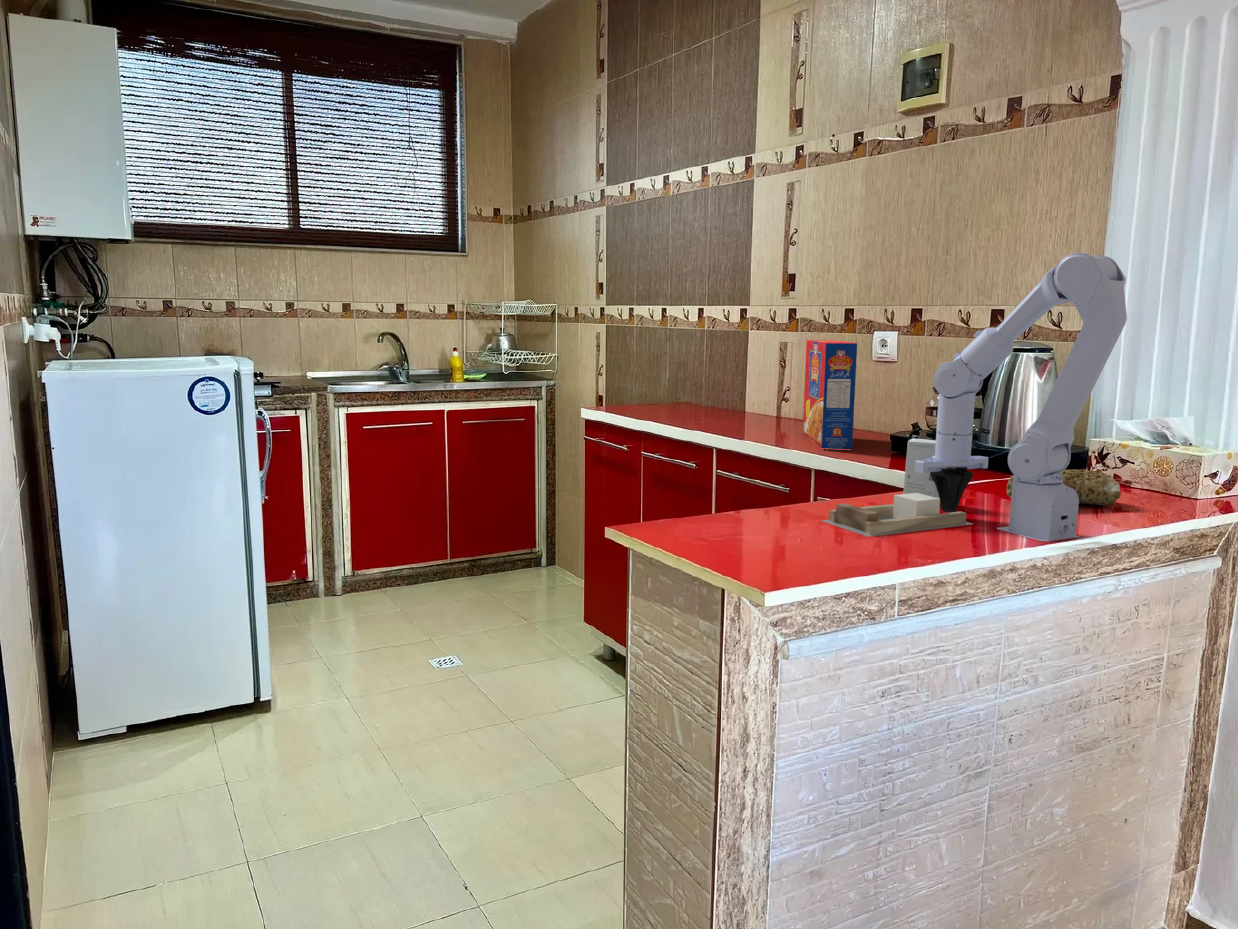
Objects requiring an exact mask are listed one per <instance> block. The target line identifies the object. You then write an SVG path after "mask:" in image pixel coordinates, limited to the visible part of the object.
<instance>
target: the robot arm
mask: <svg viewBox="0 0 1238 929" xmlns="http://www.w3.org/2000/svg"><path fill="white" fill-rule="evenodd" d="M1126 280H1127V278H1126V276H1125V274H1124V273H1123V271H1122V269H1121V268H1120V266H1119V265H1118V263H1117V262H1116V260H1114V259H1113V258H1112V257H1109V256H1106V255H1094V254H1089V253H1086V252H1074V253H1071V254H1068V255H1066V256H1065V257H1064V258H1062V259H1061V260H1060V261H1059V262H1058V264H1057V266H1056V267H1053V268H1051V269H1050V270H1048V271H1047V272H1046V273H1045V275H1044V276H1043V277H1042V278H1041V280H1040V281H1039V282H1038V284H1036V286H1034V288H1033V289H1031V291H1030V292H1029V293H1028V294H1027V295H1026V296H1025V297H1024V299H1023V300H1021V302H1020V303H1019V304H1018V305H1017V306H1016V307H1015V308H1014V309H1013V310H1012V311H1011V312H1010V314H1008V316H1007V317H1006V318H1005V319H1004V320H1002V322H1001V323H1000V324H999V325H998V326H997V327H986V328H984V329H983V330H977V331H976V332H975V333H974V334H973V338H974V339H973V340H972V341H971V342H970V343H969V344H968V345H967V346H966V347H965V348H964V349H963V350H962V351H961V352H956V353H955V354H954V355H953V361H946V362H944V363H941V364H940V365H939V367H938V368H937V369H936V370H935V373H934V375H933V385H934V388H935V390H936V392H937V393H938V402H937V403H938V405H937V415H936V416H937V419H936V435H935V440H936V447H935V456H932V458H929V459H924V460H918V461H915V472H918V473H922V474H925V473H927V472H930V476H931V477H932V479H933V481H934V483H935V485H936V488H937V491H938V494H939V499H940V508H941V512H944V513H952V512H958V508H959V504H960V502H961V500H962V497H963V494H964V492H965V490H966V488H967V487H968V485H969V484H970V482H971V481H972V480H973V478H974V472H973V471H968V470H972V469H973V470H974V469H985V470H986V469H988V468H989V457H988V456H982V455H972V444H973V443H972V442H973V441H972V440H973V429H974V428H973V427H974V416H975V414H974V413H975V400H976V394H977V393H978V392H979V391H980V390H981V388H982V386H983V383H984V379H986V378H987V377H988V376H989V375H990V374H991V373H993V371H995V369H996V368H998V367H999V366H1000V364H1002V363H1003V362H1004V361H1005V360H1006V359H1007V358H1008V357H1009V356H1010V355H1011V354H1012V353H1013V352H1014V345H1015V344H1014V343H1015V340H1016V339H1018V337H1020V336H1021V335H1023V333H1024V332H1026V331H1027V330H1028V329H1029V328H1031V327H1032V325H1034V324H1035V323H1036V322H1037V321H1038V320H1040V319H1041V318H1042V317H1043V316H1044V315H1046V314H1047V313H1048V312H1049V311H1051V309H1052V308H1054V307H1057V306H1059V305H1063V304H1068V303H1072V304H1073V305H1074V307H1075V309H1076V310H1077V313H1078V314H1079V317H1080V318H1081V320H1082V323H1083V324H1082V326H1081V328H1080V331H1079V332H1078V334H1077V337H1076V339H1075V342H1073V345H1072V348H1071V349H1070V351H1069V353H1068V355H1067V357H1066V359H1065V362H1064V364H1063V365H1062V367H1061V370H1060V372H1059V374H1058V376H1057V378H1056V381H1055V382H1054V384H1053V387H1052V389H1051V391H1050V394H1049V395H1048V397H1047V399H1046V401H1045V403H1044V406H1043V408H1042V409H1041V412H1040V414H1039V415H1038V418H1036V420H1035V421H1034V422H1033V423H1032V424H1031V425H1030V426H1029V427H1028V429H1026V431H1025V433H1024V435H1023V437H1022V438H1021V439H1020V441H1018V442H1017V443H1016V444H1014V445H1013V446H1012V448H1010V450H1009V452H1008V455H1007V465H1008V467H1009V470H1010V471H1011V473H1012V474H1013V475H1012V476H1013V483H1012V496H1011V498H1010V509H1009V511H1010V512H1009V521H1008V526H1002V527H996V529H997V530H1001V531H1004V532H1007V533H1011V534H1013V535H1014V534H1015V535H1018V536H1022V537H1026V538H1030V539H1033V540H1037V541H1041V542H1053V541H1059V540H1067V539H1075V538H1079V537H1080V536H1079V535H1077V527H1078V516H1079V505H1080V503H1079V498H1078V495H1077V492H1076V491H1075V490H1074V489H1072V488H1070V487H1067V486H1065V485H1064V484H1063V476H1062V473H1061V472H1062V471H1063V470H1067V468H1068V466H1069V464H1070V462H1071V458H1072V457H1071V456H1072V454H1071V453H1072V452H1071V447H1072V444H1073V442H1074V440H1075V432H1074V428H1075V426H1076V424H1077V422H1078V420H1079V418H1080V415H1081V413H1082V412H1083V410H1084V408H1085V406H1086V403H1087V401H1088V399H1089V397H1090V396H1091V394H1092V392H1093V389H1094V388H1095V386H1096V384H1097V381H1099V380H1098V379H1099V378H1100V375H1101V374H1102V372H1103V370H1104V368H1105V367H1106V366H1105V365H1106V363H1107V362H1108V360H1109V358H1110V356H1111V354H1112V353H1113V349H1114V347H1115V346H1116V344H1117V342H1118V340H1119V337H1120V336H1121V333H1122V332H1123V329H1124V327H1125V326H1126V322H1127V319H1128V315H1127V307H1126V304H1127V303H1126V296H1125V284H1126Z"/></svg>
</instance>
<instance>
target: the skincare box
mask: <svg viewBox="0 0 1238 929" xmlns="http://www.w3.org/2000/svg"><path fill="white" fill-rule="evenodd" d="M935 447H936V439H934V440H933V439H927V438H926V439H924V438H911V439H908V441H907V448H906V457H905V458H906V459H905V468H904V469H905V470H904V482H903V490H902V491H903V493H902V494H910V493H920V494H923V495H927V496H931V497H935V498H939V494H938V491H937V488H936V485H935V483H934V481H933V479H932V477H931V476H930V472H927V473H925V474H922V473H918V472H915V461H918V460H924V459H929V458H932V456H935Z"/></svg>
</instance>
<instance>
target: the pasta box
mask: <svg viewBox="0 0 1238 929" xmlns="http://www.w3.org/2000/svg"><path fill="white" fill-rule="evenodd" d="M805 342H806V344H805V346H806V348H805V371H804V372H805V373H804V391H803V392H804V394H803V395H804V396H803V414H802V416H803V420H802V436H803V435H804V436H805V437H807V438H808V439H810V440H812V441H813V442H814V443H815V444H817V445H818V446H819V447H820V448H830V449H831V448H832V449H833V448H834V449H852V450H853V438H854V421H855V420H854V415H855V396H856V395H855V394H856V376H857V374H856V373H857V358H858V355H857V354H858V343H857V342H849V341H841V340H814V339H811V340H810V339H807V340H806V341H805Z"/></svg>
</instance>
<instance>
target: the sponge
mask: <svg viewBox="0 0 1238 929" xmlns="http://www.w3.org/2000/svg"><path fill="white" fill-rule="evenodd" d="M1061 473H1062V476H1063V484H1064V485H1065V486H1067V487H1070V488H1072V489H1074V490H1075V491H1076V492H1077V495H1078V498H1079V504H1085V505H1099V506H1109V505H1113V504H1116V503H1117V500H1119V499H1120V498H1121V496H1122V494H1121V488H1120V487H1121V486H1120V483H1119V482H1118V481H1116V479H1114V478H1113V477H1112V475H1111V474H1107V473H1106V472H1105V473H1103V472H1101V471H1096V470H1090V469H1064V470H1063V471H1062V472H1061ZM1012 483H1013V475H1011V476H1010V477H1009V479H1008V482H1007V484H1006V495H1007V496H1008V497H1009V498H1010V499H1011V496H1012Z"/></svg>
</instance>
